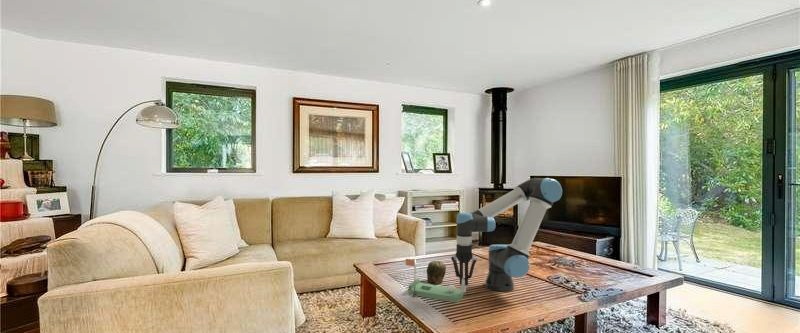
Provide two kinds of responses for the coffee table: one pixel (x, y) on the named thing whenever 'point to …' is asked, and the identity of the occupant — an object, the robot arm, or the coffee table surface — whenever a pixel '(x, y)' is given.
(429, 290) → the mat
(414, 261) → the flag pin
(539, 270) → the coffee table surface
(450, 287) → the ball
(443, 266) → the ribbed round cactus
